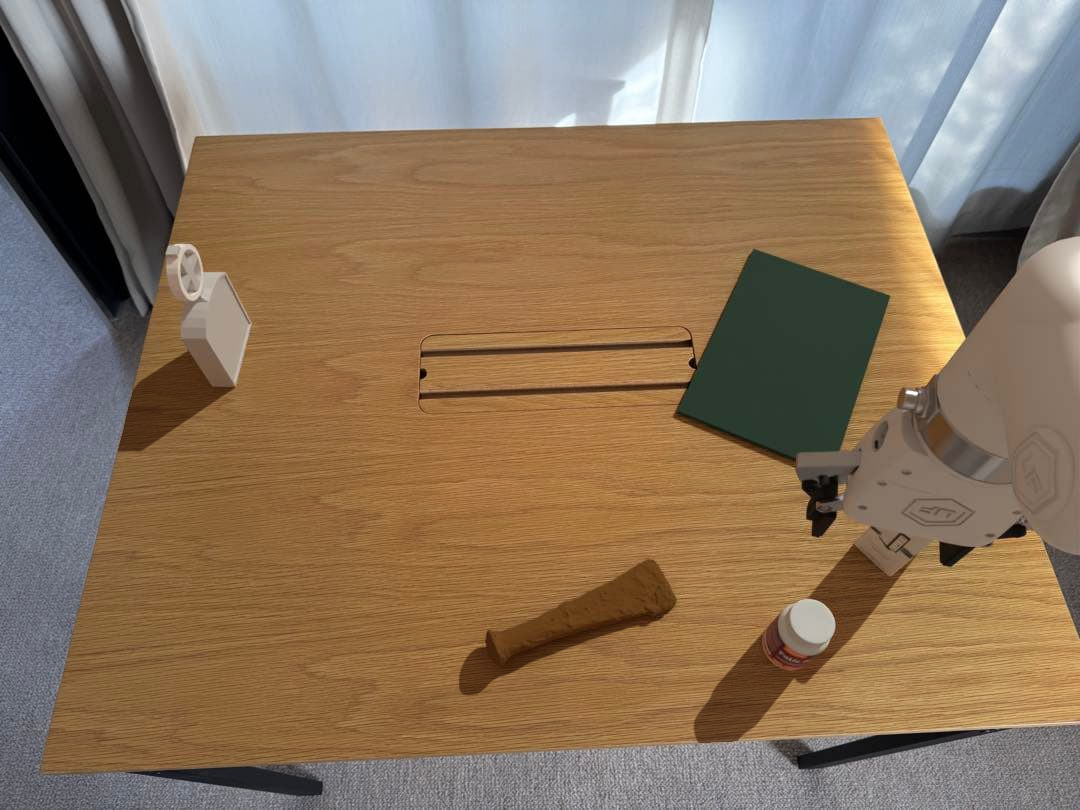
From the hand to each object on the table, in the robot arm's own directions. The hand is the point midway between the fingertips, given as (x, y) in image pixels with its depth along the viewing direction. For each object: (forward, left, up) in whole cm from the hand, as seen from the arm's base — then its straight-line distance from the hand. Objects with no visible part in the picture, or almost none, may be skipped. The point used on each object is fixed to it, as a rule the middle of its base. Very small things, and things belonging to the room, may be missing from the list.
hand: (879, 534), depth 60 cm
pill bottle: (+1, +4, -20) cm, 20 cm away
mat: (+11, -30, -19) cm, 37 cm away
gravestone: (+71, 0, -20) cm, 73 cm away
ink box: (-6, -12, -20) cm, 24 cm away
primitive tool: (+20, +10, -20) cm, 30 cm away
